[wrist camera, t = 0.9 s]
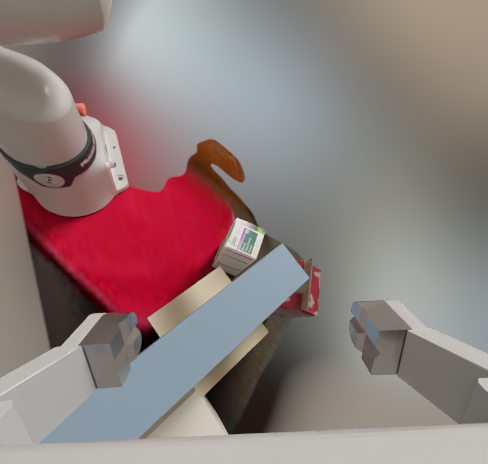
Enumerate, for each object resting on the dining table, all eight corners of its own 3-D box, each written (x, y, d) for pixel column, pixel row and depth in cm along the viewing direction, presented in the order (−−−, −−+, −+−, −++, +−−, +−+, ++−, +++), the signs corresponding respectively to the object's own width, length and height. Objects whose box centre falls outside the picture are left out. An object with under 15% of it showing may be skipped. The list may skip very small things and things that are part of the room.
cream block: (153, 478, 37) (144, 579, 22) (121, 426, 38) (92, 489, 23) (216, 412, 42) (241, 459, 27) (186, 368, 43) (195, 390, 28)
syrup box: (235, 277, 51) (258, 260, 38) (210, 266, 50) (224, 246, 37) (244, 253, 54) (268, 230, 41) (219, 242, 53) (236, 216, 40)
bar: (74, 479, 16) (47, 523, 13) (44, 427, 17) (10, 455, 13) (289, 284, 26) (309, 277, 22) (267, 254, 26) (282, 243, 23)
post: (183, 358, 43) (200, 398, 20) (158, 321, 44) (147, 318, 21) (218, 328, 47) (268, 332, 23) (195, 294, 48) (219, 265, 24)
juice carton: (237, 311, 49) (284, 302, 29) (244, 279, 51) (291, 251, 32) (267, 319, 50) (332, 315, 30) (272, 287, 53) (334, 265, 33)
